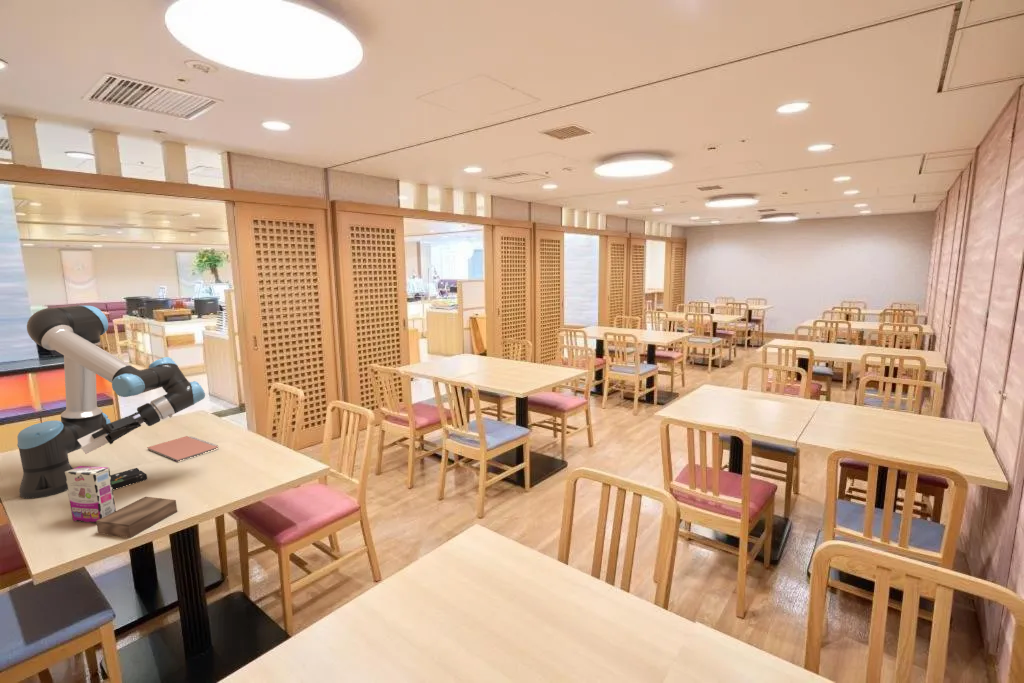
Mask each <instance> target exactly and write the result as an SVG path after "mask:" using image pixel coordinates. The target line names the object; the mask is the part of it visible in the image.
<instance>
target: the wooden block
mask: <svg viewBox="0 0 1024 683" xmlns="http://www.w3.org/2000/svg"><path fill="white" fill-rule="evenodd" d="M177 512H178V507H177V500H176V499H171V498H163V497H162V498H161V497H152V496H143V497H142V498H139V499H138V500H135V501H133V502H132V503H129V504H128V505H126V506H124V507H122V508H119V509H117V510H116V511H115V512H113V513H111V514H109V515H107V516H105V517H103V518H101V519H99V520H97V521H96V526H97V528H96V529H97V533H98V534H100V535H101V534H102V535H107V534H108V535H109V536H115V537H122V538H123V537H124V538H133V537H134V536H135V537H136V535H139V534H140V533H142V532H144V531H146V530H147V529H149V528H152V526H154V525H156V524H158V523H160V522H162V521H163V520H165V519H167V518H169V517H170V516H173V514H176V513H177Z"/></svg>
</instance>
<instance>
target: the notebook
mask: <svg viewBox="0 0 1024 683" xmlns="http://www.w3.org/2000/svg"><path fill="white" fill-rule="evenodd" d="M216 448H218V449H219V446H218V445H217V444H215V443H212V442H209V441H206V440H203V439H199V438H197V437H194V436H190V435H189V436H188V435H185V436H181V437H178V438H175V439H172V440H168V441H163V442H161V443H158V444H153V445H151V446H148V447H146V449H147V450H148V451H150V450H151V452H152V451H153V452H152V453H155V452H156V453H155V454H157V453H158V454H157V455H160V454H161V455H160V456H162V455H163V456H162V457H164V456H166V457H165V458H167V457H168V458H167V459H169V458H171V459H170V460H172V459H173V460H172V461H174V460H176V461H175V462H177V461H180V460H183V459H187V458H190V457H193V458H195V457H194V456H196V457H198V456H197V455H199V456H201V455H200V454H202V455H204V454H203V453H205V452H208V451H211V450H214V449H216ZM190 459H191V458H190ZM187 460H188V459H187Z"/></svg>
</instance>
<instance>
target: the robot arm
mask: <svg viewBox="0 0 1024 683" xmlns="http://www.w3.org/2000/svg"><path fill="white" fill-rule="evenodd" d="M108 328H109V321H108V317H107V316H106V314H105V313H104V312H102V310H101V309H99V307H96V306H93V305H79V304H78V305H70V306H60V307H47V308H43V309H40V310H38V311H36V312H34V313H33V314H32V315H31V316H30V317H29V318H28V320H27V323H26V331H27V334H28V336H29V338H30V339H31V340H32V341H33V342H34V343H36V344H37V345H39V346H40V347H42V348H43V349H46V350H47V351H56V352H57V353H59V354H61V355H63V366H64V367H63V369H64V387H65V410H64V411H62V412H61V413H60V420H47V421H43V422H38V423H35V424H32V425H29V426H26V428H25V427H24V428H23V429H21V430H20V431H19V432H18V434H17V444H16V446H17V448H18V452H19V456H20V461H21V467H22V472H23V474H22V478H21V481H20V485H19V490H18V491H19V496H20V498H22V497H23V499H38V498H44V497H48V496H52V495H56V494H59V493H63V492H66V491H68V488H67V482H66V476H65V472H66V471H68V470H71V469H73V468H74V467H73V466H72V465H71V463H70V460H69V455H68V454H70V453H72V452H74V451H78V450H82V451H83V453H84V455H87V454H89V453H91V452H93V451H96V450H97V449H98V448H101V447H103V446H105V445H107V444H109V445H112V444H114V442H115V441H116V440H119V439H120V438H122V437H124V436H125V435H127V434H129V433H130V432H132V431H134V430H136V429H138V428H140V427H141V426H142V424H143V423H145V424H146V425H147V426H148V427H151V426H153V425H156V424H157V423H159V422H160V421H161V420H165V419H167V418H168V417H169V418H173V415H175V414H177V413H179V412H181V411H183V410H185V409H187V408H190V407H192V406H194V405H195V404H197V403H199V402H200V401H203V400H204V399H205V398H206V397H205V396H206V393H205V390H204V389H203V387H202V385H200V383H199V382H198V381H195V380H194V381H189V380H188V379H187V378H186V376H185V375H184V373H183V372H182V370H181V369H180V367H179V365H178V364H177V363H176V362H175V361H174V360H173V358H171V357H169V356H166V357H161V358H160V359H156V360H155V361H152V362H151V363H150V364H149V365H148V368H144V369H138V368H136V367H134V366H132V365H131V364H129V363H128V362H125V361H124V360H122V359H120V358H118V357H117V356H115V355H113V354H112V353H110V352H109V351H107V350H105V349H103V348H101V347H99V346H98V345H99V344H100V343H101V336H102V335H104V334H106V333H107V331H108V330H109V329H108ZM97 375H98V376H99V377H101V378H102V379H104V380H107V381H108V382H110V383H111V388H112V390H113V391H114V392H115V394H116V395H117V396H119V397H121V398H127V397H128V398H129V397H132V396H138V395H141V394H143V393H147V392H151V391H152V390H157V389H159V388H162V389H163V390H164V391H165V393H166V394H163V395H161V396H160V397H157V398H155V399H153V400H151V401H150V403H149V402H146V403H145V404H143V405H141V406H139V407H137V408H136V410H137V412H134V413H132V414H130V415H128V416H127V415H126V416H124V417H123V418H122V417H121V418H120V419H119V418H118V419H117V420H114V421H112V422H111V419H110V418H109V416H108V415H107V414H106V413H104V412H103V409H102V408H100V407H98V402H97V400H98V399H97V394H98V393H97Z"/></svg>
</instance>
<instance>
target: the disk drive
mask: <svg viewBox="0 0 1024 683" xmlns="http://www.w3.org/2000/svg"><path fill="white" fill-rule="evenodd" d="M110 476H111V483H112V490H113V489H115V490H117V489H116V488H118V489H121V488H124V487H123V486H125V487H127V486H126V485H128V486H130V485H129V484H131V485H134V484H136V482H137V483H140V481H141V482H144V481H147V480H148V476H147V473H145V472H144V471H142V470H140V469H139V468H138V467H134V468H131V469H128V470H124V471H121V472H117V473H114V474H110ZM146 479H147V480H146ZM143 480H144V481H143ZM133 483H134V484H133ZM120 487H121V488H120ZM113 491H114V490H113Z"/></svg>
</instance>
